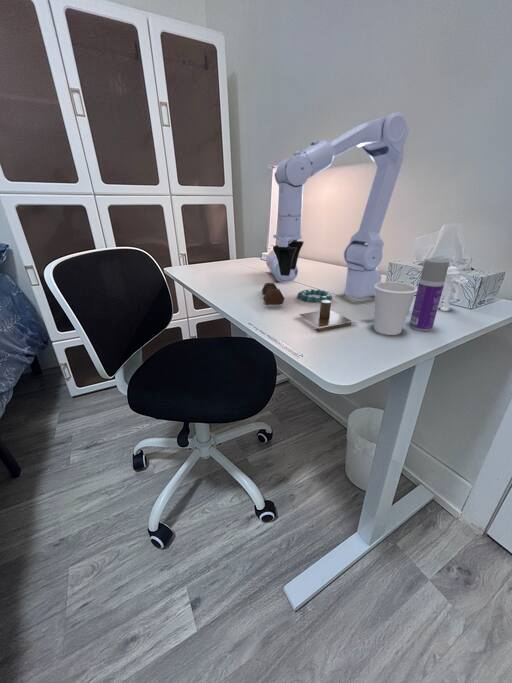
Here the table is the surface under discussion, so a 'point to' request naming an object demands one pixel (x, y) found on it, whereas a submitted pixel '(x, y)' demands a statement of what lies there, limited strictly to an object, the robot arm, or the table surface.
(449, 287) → the hat wearing toy figure
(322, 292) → the ring
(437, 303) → the container
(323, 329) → the post
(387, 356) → the table surface
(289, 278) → the pencil case
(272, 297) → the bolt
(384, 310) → the dixie cup
